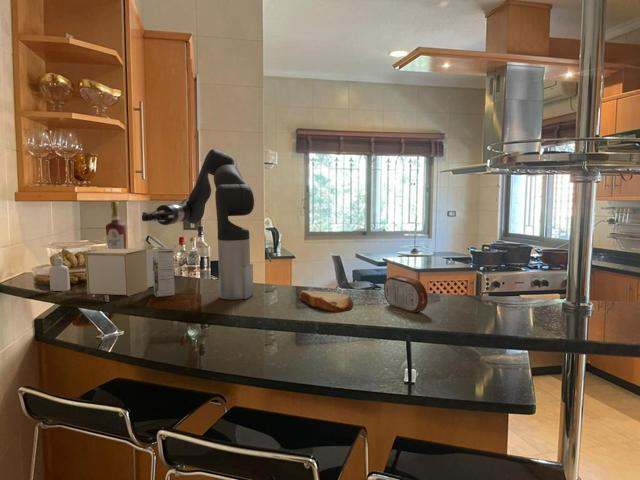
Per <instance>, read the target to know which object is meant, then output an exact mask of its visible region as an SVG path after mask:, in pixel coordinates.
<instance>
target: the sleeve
mask: <svg viewBox="0 0 640 480" xmlns="http://www.w3.org/2000/svg"><path fill="white" fill-rule="evenodd" d="M146 249H147V248H126V249H108V248H104V249H96V250H92V251H86V252H84V258H85V274H86V289H87V290H86V291H87V292H86V293H87V295H91V293H90V290H89V273H88V257H87V255H91V254H102V255H125V262H126V281H127V295H126V296H127V297H130V296H133V295H136V294H139V293H142V292H145V291H148V290H149V288H148V281H147V260H146Z"/></svg>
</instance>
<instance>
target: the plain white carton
mask: <svg viewBox="0 0 640 480" xmlns="http://www.w3.org/2000/svg"><path fill="white" fill-rule="evenodd" d="M145 249H146V260H147V281H148V289H149V288H151V287H154V284H153V248H150V249H149V248H145ZM87 257H88V273H89V290H90V293H91V294H92V295H93V294H97V295H114V296H115V295H117V296H120V295H121V296H127V281H126V262H125V255H102V254H91V255H87ZM91 294H90V295H91Z"/></svg>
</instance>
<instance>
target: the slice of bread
mask: <svg viewBox="0 0 640 480" xmlns="http://www.w3.org/2000/svg"><path fill="white" fill-rule="evenodd" d="M298 298H299V300H300V301H302V302H303V303H305V304H306V305H309V306H311V307H312V308H316V309H319V310H322V311H326V312H332V313H343V312H348V311H351V310H352V308H353V306H354V301H353V299H352V297H351V296H350V295H348V294H344V293H341V292H330V291H321V290H306V289H305V290H301V292H300V294H299V297H298Z"/></svg>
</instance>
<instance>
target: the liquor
mask: <svg viewBox="0 0 640 480" xmlns="http://www.w3.org/2000/svg"><path fill="white" fill-rule="evenodd" d="M110 207H111V222H110V223H107V224H105V233H106V234H105V236H106V243H107V249H127V225H126V224H125V223H123V222H121V220H120V213H119V201H110Z"/></svg>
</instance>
